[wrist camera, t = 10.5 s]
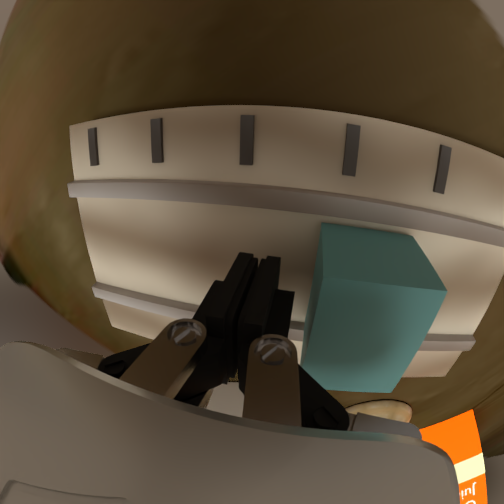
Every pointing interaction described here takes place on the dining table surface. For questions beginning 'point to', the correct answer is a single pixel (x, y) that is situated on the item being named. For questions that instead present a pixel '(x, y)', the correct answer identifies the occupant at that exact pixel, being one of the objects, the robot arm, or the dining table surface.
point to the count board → (280, 209)
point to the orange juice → (462, 454)
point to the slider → (367, 308)
